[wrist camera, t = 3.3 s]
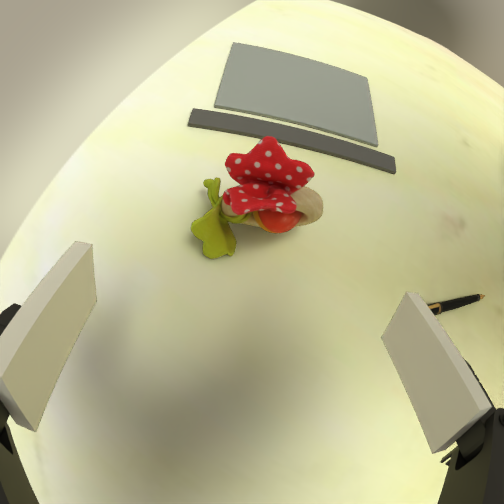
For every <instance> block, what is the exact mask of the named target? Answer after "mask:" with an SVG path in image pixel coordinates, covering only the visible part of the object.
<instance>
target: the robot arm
mask: <svg viewBox="0 0 504 504" xmlns="http://www.w3.org/2000/svg"><path fill="white" fill-rule="evenodd" d="M96 302H97V297H96V288H95V277H94V264H93V248H92V244H88V243H83V242H77V241H75V242H74V243H73V245H72V246H71V247H70V248H69V249H68V250H67V251H66V252H65V253H64V255H63V256H62V257H61V258H60V259H59V260H58V262H57V263H56V264H55V265H54V266H53V267H52V269H51V270H50V271H49V272H48V273H47V275H46V276H45V277H44V278H43V279H42V281H41V282H40V283H39V284H38V286H37V287H36V288H35V289H34V291H33V292H32V293H31V295H30V296H29V297H28V298H27V300H26V301H25V302H24V304H23V305H22V306H21V305H18V304H13V305H11V306H10V307H8V308H7V309H5V310H4V311H3V312H2V313H1V314H0V504H39V502H38V500H37V498H36V496H35V494H34V492H33V490H32V487H31V485H30V483H29V480H28V478H27V476H26V473H25V471H24V468H23V466H22V463H21V461H20V458H19V455H18V452H17V450H16V447H15V444H14V441H13V438H12V435H11V431H10V428H9V426H8V424H7V419H8V417H9V415H11V417H12V418H13V420H14V421H15V422H16V424H18V425H20V426H23V427H25V428H27V429H29V430H32V431H34V432H36V431H37V429H38V426H39V423H40V421H41V418H42V416H43V413H44V411H45V408H46V406H47V403H48V401H49V398H50V396H51V394H52V391H53V389H54V387H55V384H56V382H57V380H58V378H59V376H60V373H61V371H62V369H63V367H64V365H65V363H66V360H67V358H68V356H69V354H70V352H71V350H72V348H73V346H74V344H75V342H76V340H77V338H78V336H79V334H80V332H81V330H82V328H83V326H84V324H85V322H86V320H87V319H88V317H89V315H90V313H91V311H92V309H93V307H94V306H95V304H96ZM381 339H382V341H383V343H384V345H385V347H386V349H387V351H388V353H389V355H390V357H391V359H392V361H393V363H394V366H395V368H396V370H397V372H398V374H399V376H400V378H401V381H402V383H403V385H404V387H405V389H406V392H407V394H408V396H409V398H410V401H411V403H412V405H413V408H414V410H415V412H416V415H417V417H418V419H419V422H420V424H421V427H422V429H423V432H424V434H425V436H426V439H427V441H428V444H429V447H430V449H431V452H432V454H433V453H436V452H440V451H443V450H446V449H447V448H448V447H449V446H451V445H452V444H453V443H454V442H455V441H456V442H457V445H458V446H457V447H456V448H454V449H453V450H452V451H451V452H450V453H448V454H447V455H446V456H445V457H443V458H442V460H441V463H443V462H444V461H446V460H447V459H448V458H449V457H451V459H450V460H449V461H448V462H447V463H446V465H448V466H449V468H448V471H447V475H446V478H445V482H444V485H443V488H442V492H441V495H440V498H439V501H438V504H504V409H503V408H498V409H497V410H496V408H495V407H494V405H493V403H492V402H491V400H490V398H489V396H488V394H487V393H486V391H485V389H484V388H483V386H482V384H481V383H480V382H479V379H478V378H477V376H476V375H475V373H474V371H473V369H472V368H471V366H470V365H469V363H468V362H467V361H466V360H465V359H464V358H463V357H462V355H461V354H460V352H459V351H458V349H457V348H456V346H455V345H454V343H453V342H452V340H451V339H450V337H449V336H448V334H447V333H446V331H445V330H444V328H443V327H442V325H441V324H440V323H439V321H438V320H437V318H436V317H435V316H434V314H433V313H432V311H431V310H430V309H429V307H428V306H427V304H426V303H425V302H424V300H423V299H422V298H421V296H420V295H419V294H418V293H411V292H406V293H405V295H404V297H403V299H402V301H401V303H400V304H399V306H398V308H397V310H396V312H395V314H394V316H393V317H392V319H391V321H390V323H389V325H388V326H387V328H386V330H385V332H384V333H383V335H382V337H381Z"/></svg>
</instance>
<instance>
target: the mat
mask: <svg viewBox="0 0 504 504" xmlns="http://www.w3.org/2000/svg"><path fill="white" fill-rule="evenodd" d="M214 107H215V108H221V109H227V110H233V111H238V112H244V113H249V114H254V115H259V116H264V117H269V118H273V119H278V120H282V121H286V122H291V123H295V124H299V125H303V126H307V127H311V128H314V129H318V130H322V131H325V132H329V133H333V134H336V135H339V136H343V137H346V138H349V139H353V140H356V141H359V142H362V143H365V144H368V145H371V146H374V147H377V146H378V140H377V132H376V126H375V119H374V113H373V107H372V101H371V95H370V90H369V85H368V80H367V78H366V77H363V76H361V75H358V74H355V73H352V72H350V71H347V70H344V69H341V68H338V67H335V66H331V65H328V64H325V63H322V62H318V61H315V60H311V59H308V58H304V57H301V56H297V55H293V54H289V53H285V52H281V51H276V50H272V49H267V48H262V47H257V46H252V45H247V44H241V43H235V42H233V45H232V48H231V51H230V55H229V58H228V61H227V64H226V68H225V71H224V74H223V78H222V81H221V84H220V88H219V91H218V95H217V98H216V102H215V106H214ZM188 126H190V127H197V128H204V129H210V130H216V131H222V132H228V133H234V134H239V135H245V136H250V137H255V138H260V139H263V138H264V137H266V136H272V137H274V138H276V139H277V141H278V142H279V143H283V144H288V145H292V146H296V147H301V148H305V149H309V150H313V151H317V152H321V153H324V154H328V155H332V156H336V157H339V158H343V159H346V160H350V161H353V162H357V163H360V164H363V165H367V166H370V167H373V168H376V169H380V170H383V171H386V172H389V173H392V174H395V173H396V166H395V158H394V157H392V156H390V155H387V154H384V153H381V152H378V151H375V150H372V149H369V148H366V147H363V146H360V145H356V144H353V143H350V142H347V141H343V140H340V139H336V138H333V137H329V136H326V135H322V134H318V133H315V132H311V131H307V130H303V129H299V128H295V127H291V126H286V125H282V124H278V123H273V122H269V121H264V120H259V119H254V118H249V117H244V116H238V115H233V114H227V113H221V112H215V111H208V110H202V109H195V108H193V110H192V113H191V116H190V119H189V122H188Z"/></svg>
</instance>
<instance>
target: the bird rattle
mask: <svg viewBox="0 0 504 504" xmlns="http://www.w3.org/2000/svg"><path fill="white" fill-rule="evenodd" d="M225 166H226V168H227V170H228V173H229V174H230V176H231V177H232V178H233V179H234V180H235V181H237V182H238V183H239V184H240V185H239V186H236V187H233V188H230V189H227V190H226V191H225V192H224V194H223V195H222V196H221V197H219V195H218V194H219V188H220V182H221V181H220V178H215V179H214V180H213V179H206V180H204V182H203V184H204V186H205V187H207V188H208V197H209V199H210V201H211V204H212V206H213V208H212V209H211V210H210V211H208V212H207V213H206V214H205V215H204V216H203V217H201V218H199V219H197V220H195V221H194V222H193V223H192V226H191V231H192V233H193V234H194V236H195V237H197V238H198V239H200V240H202V241H203V254H204V255H205V256H207V257H208V258H210V259H214V258H218V257H220V256H223V255H226V254H228V255H229V256H232V255H233V254H234V252H235V249H236V244H237V242H236V239H235V237H234V235H233V233H232V231H231V229H230V227H229V224H228V222H231V223H235V224H237V223H242V224H246V225H251V226H257V227H261V228H262V229H264V230H265V231H268V232H271V233H282V232H287V231H289V230H291V229H292V228H293V227H297V226H302V225H307V224H310V223H313V222H315V221H317V220H318V219H319V218H320V217H321V216H322V213H323V201H322V199H321V197H320V195H319V194H318V193H317V192H315V191H314V190H312V189H310V188H307V187H305V186H304V185H306V184H307V183H308V182H309V181H310V180H311V178H312V177H313V176H314V172H313V170H312V169H311V167H310V166H309V165H308V164H306V163H304V162H301V161H298V160H292V159H290V158H289V157H288V156H287V155H286V153H285V152H284V150H283V148H282V147H281V145H280V144H279V143H278V141H277V139H276V138H274V137H272V136H266V137H264V138H263V139H261V140H260V142H259V143H258V144H257V145H256V146H255V147H254V148H253V149H252V150H251V151H250V152H249V153H247V154H238V153H231V154H229V156H228V158H227V159H226V162H225Z"/></svg>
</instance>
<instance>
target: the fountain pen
mask: <svg viewBox="0 0 504 504" xmlns="http://www.w3.org/2000/svg"><path fill="white" fill-rule="evenodd" d="M484 296H485V295H482V294H481V295H479V294H477V295H473V296H468V297H463V298H459V299H454V300H450V301H446V302H441V303H439V302H438V303H434V304H430V305H427V306H428V307H429V309H430V310H431V311H432V313H433V314H434V315H437V314H441V313H442V312H446V311H449V310H453V309H456V308H459V307H462V306H465V305H468V304H471V303H474V302H476V301H479V300H480V299H482V298H483V297H484Z"/></svg>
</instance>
